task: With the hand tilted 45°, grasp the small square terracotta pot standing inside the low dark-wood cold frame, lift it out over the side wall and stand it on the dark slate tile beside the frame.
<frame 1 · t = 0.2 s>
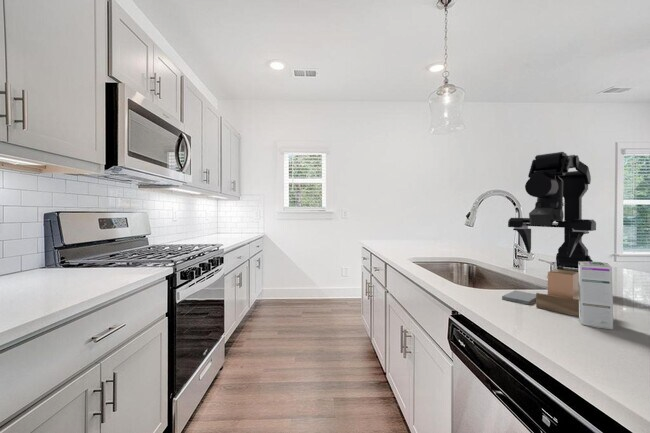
hand: (548, 254, 82), 15 cm above the table, tool pointing down, fingers open, 9 cm apart
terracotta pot: (563, 308, 82), resting in cold frame
cold frame: (563, 308, 82), on the table
slate tile: (521, 298, 90), on the table
syrup box: (594, 324, 70), on the table
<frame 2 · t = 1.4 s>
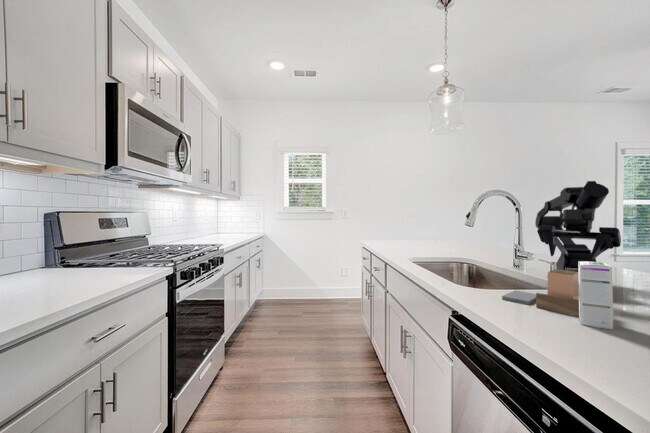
hand: (570, 257, 86), 13 cm above the table, tool tilted 45°, fingers open, 9 cm apart
nothing on the table moved.
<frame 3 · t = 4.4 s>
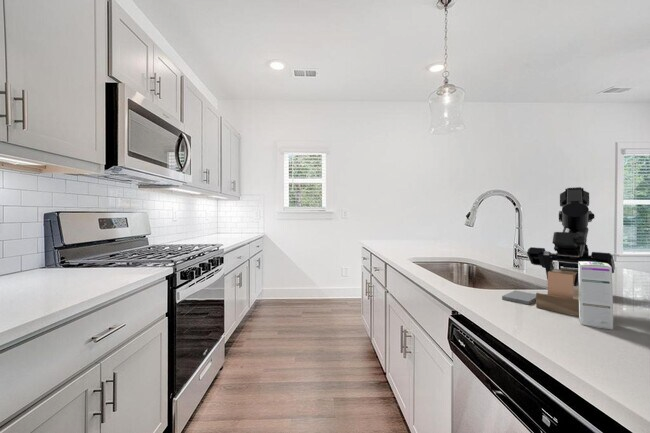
hand: (561, 283, 81), 7 cm above the table, tool tilted 45°, fingers closed on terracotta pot, 5 cm apart
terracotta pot: (563, 308, 81), resting in cold frame, touching gripper
everything else where it was.
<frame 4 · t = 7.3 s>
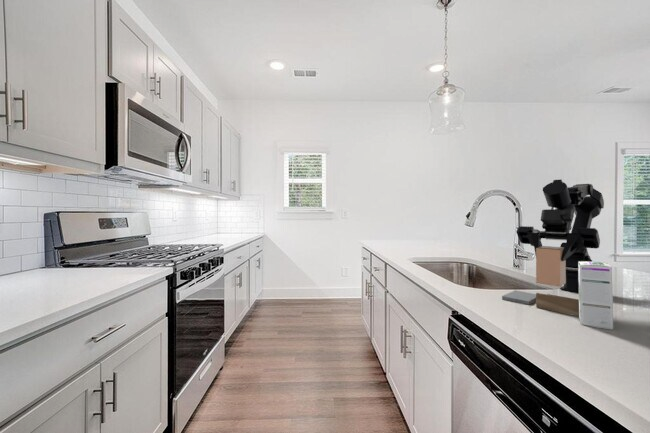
hand: (549, 258, 83), 13 cm above the table, tool tilted 45°, fingers closed on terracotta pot, 5 cm apart
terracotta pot: (550, 283, 84), point 6 cm above the table, touching gripper
everything else where it was.
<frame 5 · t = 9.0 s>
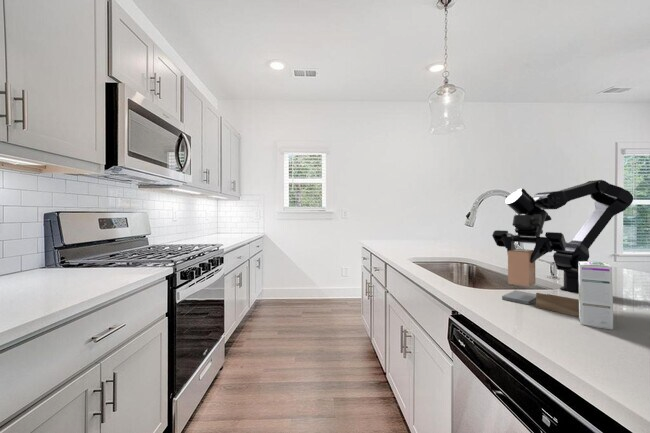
hand: (519, 260, 89), 12 cm above the table, tool tilted 45°, fingers closed on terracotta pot, 5 cm apart
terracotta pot: (521, 283, 90), point 5 cm above the table, touching gripper
everything else where it was.
when the fingers open (9 cm above the table, at t = 10.2 s): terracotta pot stays where it is, resting on slate tile.
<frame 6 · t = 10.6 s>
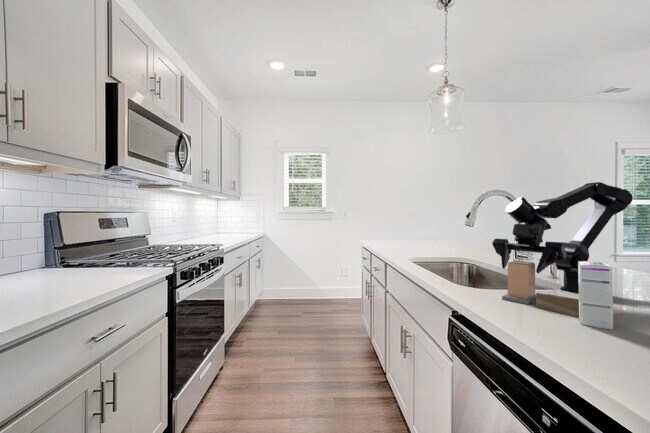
hand: (519, 270, 89), 9 cm above the table, tool tilted 45°, fingers open, 9 cm apart
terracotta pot: (521, 295, 90), point 1 cm above the table, touching slate tile
everything else where it was.
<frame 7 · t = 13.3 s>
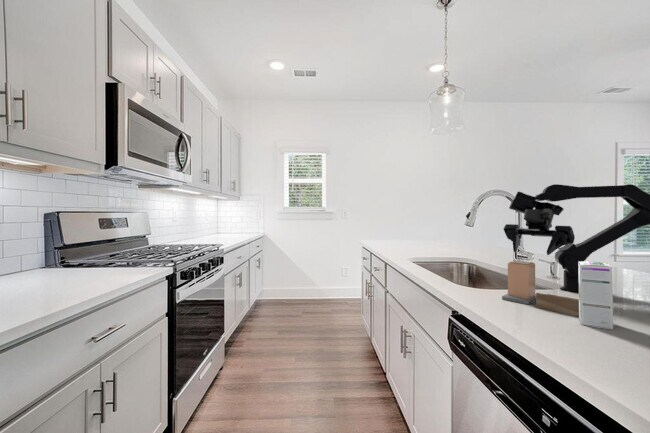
hand: (530, 252, 95), 14 cm above the table, tool tilted 45°, fingers open, 9 cm apart
nothing on the table moved.
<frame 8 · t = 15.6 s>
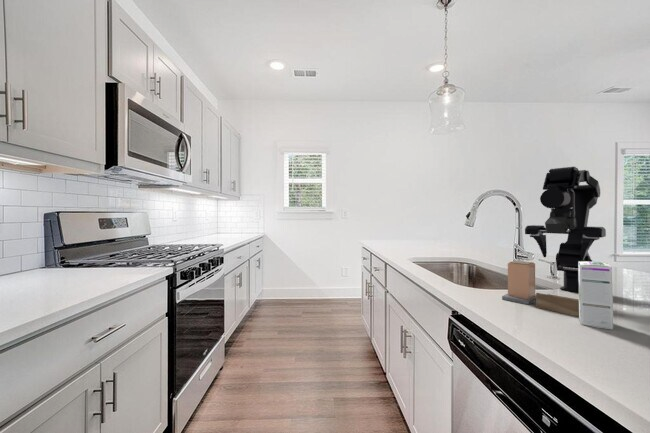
hand: (562, 258, 91), 12 cm above the table, tool pointing down, fingers open, 9 cm apart
nothing on the table moved.
at the end: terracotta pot 0.0 cm off-centre on the slate tile, point 1.0 cm above the slate tile's base; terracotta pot tilted 0°; the gripper is holding nothing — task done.
